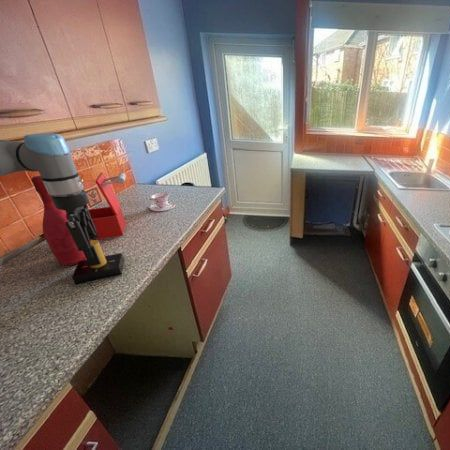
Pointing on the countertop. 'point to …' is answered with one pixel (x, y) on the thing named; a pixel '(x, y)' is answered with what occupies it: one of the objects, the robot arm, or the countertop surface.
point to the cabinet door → (110, 190)
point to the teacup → (161, 202)
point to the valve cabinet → (107, 222)
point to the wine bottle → (57, 229)
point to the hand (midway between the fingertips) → (96, 260)
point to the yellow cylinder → (98, 253)
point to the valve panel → (98, 269)
